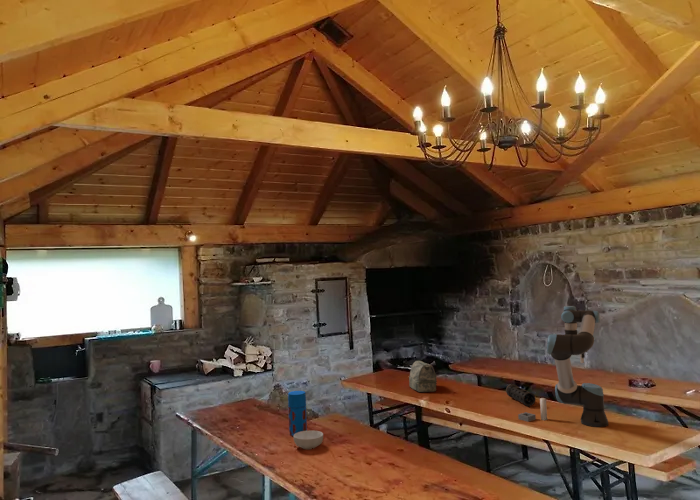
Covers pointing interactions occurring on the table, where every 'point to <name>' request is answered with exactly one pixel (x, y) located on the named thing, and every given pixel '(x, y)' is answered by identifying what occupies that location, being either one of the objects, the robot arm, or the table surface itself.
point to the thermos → (297, 412)
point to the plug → (543, 409)
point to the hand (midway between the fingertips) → (572, 361)
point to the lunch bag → (422, 377)
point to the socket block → (527, 416)
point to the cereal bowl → (308, 439)
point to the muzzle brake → (520, 395)
